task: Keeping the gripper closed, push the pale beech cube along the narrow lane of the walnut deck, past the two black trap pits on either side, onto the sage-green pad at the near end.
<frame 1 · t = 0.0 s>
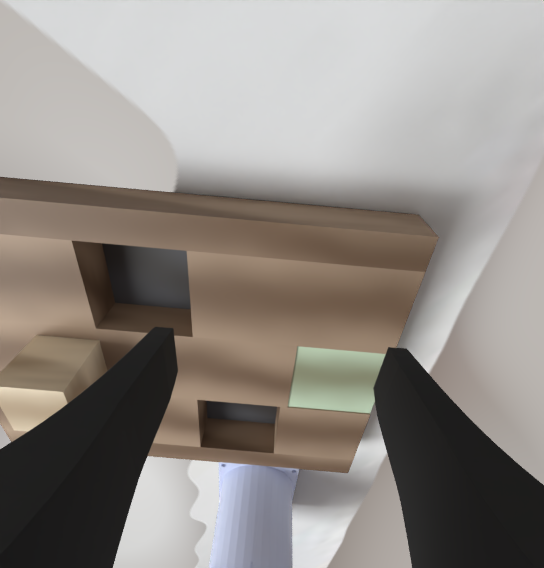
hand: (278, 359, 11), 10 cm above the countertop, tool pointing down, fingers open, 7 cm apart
trap deck: (177, 337, 25), on the countertop
beech cube: (75, 360, 22), point 3 cm above the countertop, touching trap deck
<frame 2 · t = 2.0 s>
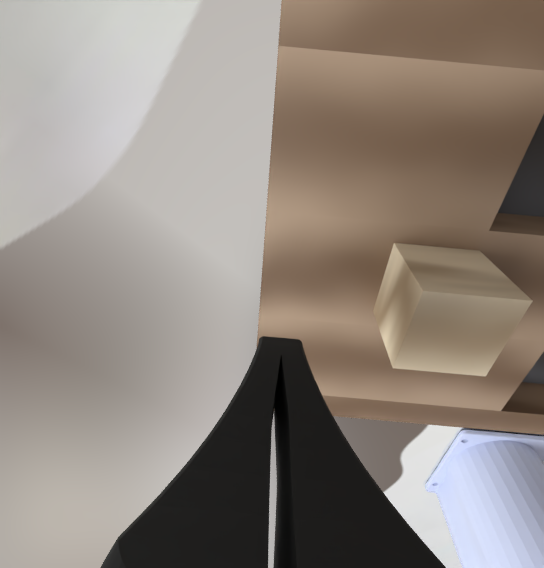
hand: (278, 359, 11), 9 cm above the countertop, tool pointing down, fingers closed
trap deck: (509, 264, 19), on the countertop
beech cube: (422, 282, 16), point 3 cm above the countertop, touching trap deck
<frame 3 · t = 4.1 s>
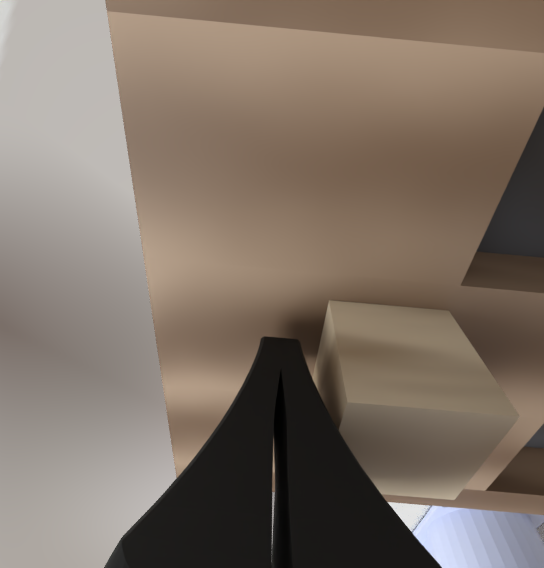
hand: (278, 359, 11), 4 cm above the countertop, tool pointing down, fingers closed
trap deck: (494, 313, 15), on the countertop
beech cube: (374, 349, 12), point 3 cm above the countertop, touching gripper, trap deck
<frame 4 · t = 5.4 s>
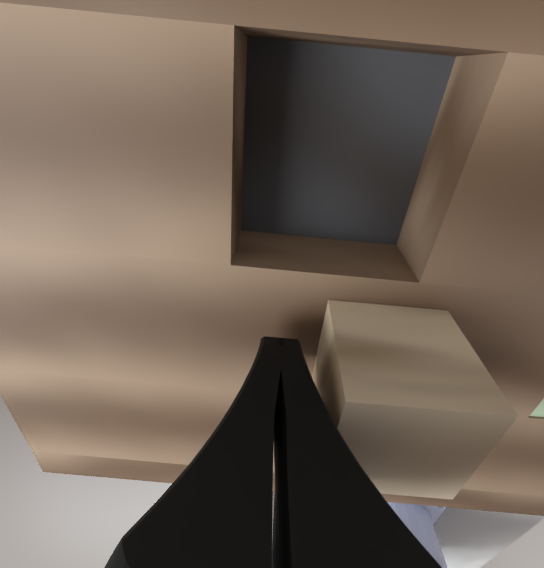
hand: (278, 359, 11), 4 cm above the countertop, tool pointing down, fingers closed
trap deck: (330, 298, 15), on the countertop
beech cube: (373, 349, 12), point 3 cm above the countertop, touching gripper
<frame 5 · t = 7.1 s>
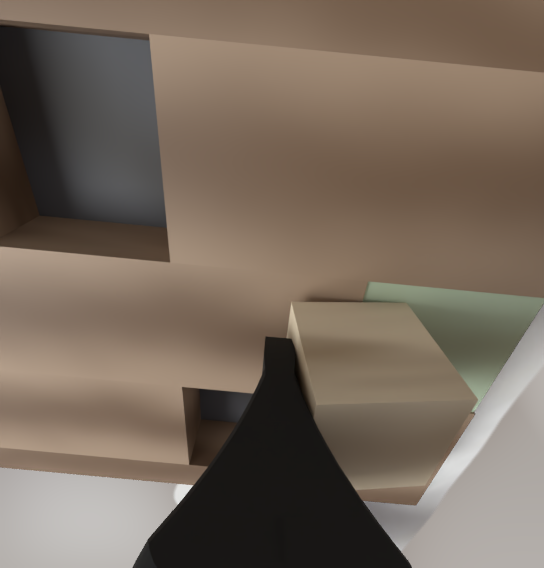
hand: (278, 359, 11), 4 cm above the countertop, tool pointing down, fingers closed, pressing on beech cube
trap deck: (151, 285, 15), on the countertop
beech cube: (339, 346, 12), point 3 cm above the countertop, tilted 8°, touching gripper, trap deck
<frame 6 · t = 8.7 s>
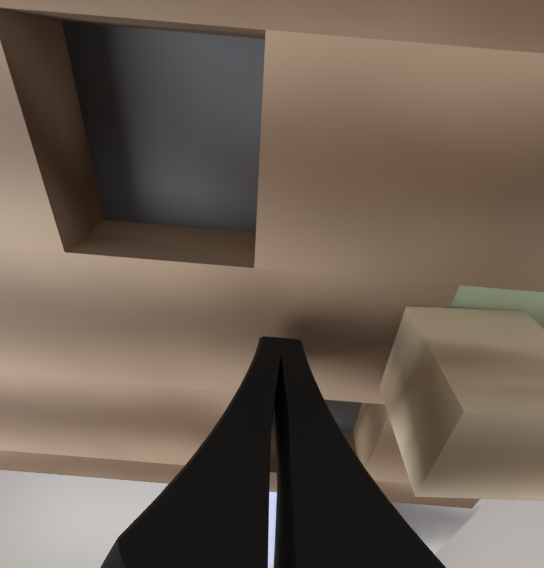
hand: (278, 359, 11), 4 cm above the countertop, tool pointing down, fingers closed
trap deck: (212, 288, 15), on the countertop
beech cube: (445, 352, 12), point 3 cm above the countertop, touching trap deck
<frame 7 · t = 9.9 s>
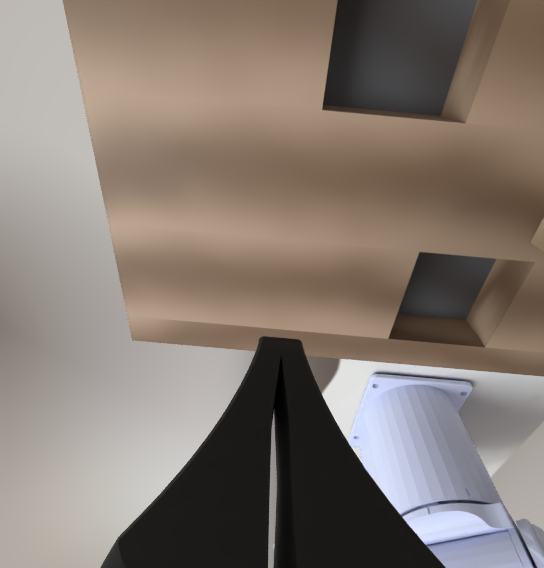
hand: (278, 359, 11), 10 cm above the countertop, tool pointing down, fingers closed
trap deck: (382, 173, 18), on the countertop
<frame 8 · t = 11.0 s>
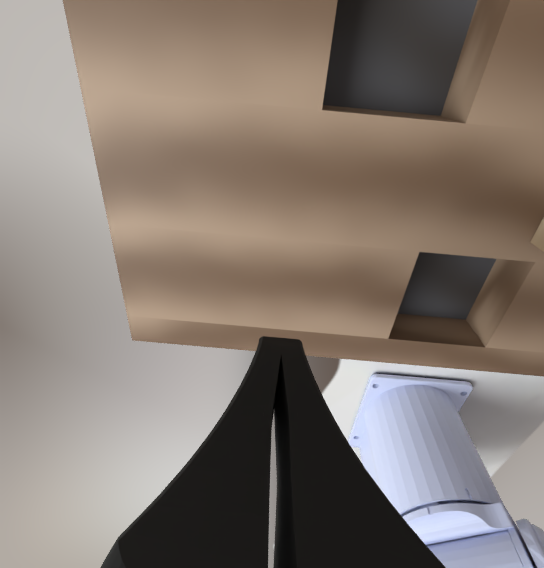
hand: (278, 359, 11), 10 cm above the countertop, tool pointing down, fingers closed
trap deck: (382, 173, 18), on the countertop
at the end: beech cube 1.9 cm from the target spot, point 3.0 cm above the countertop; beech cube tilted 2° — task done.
